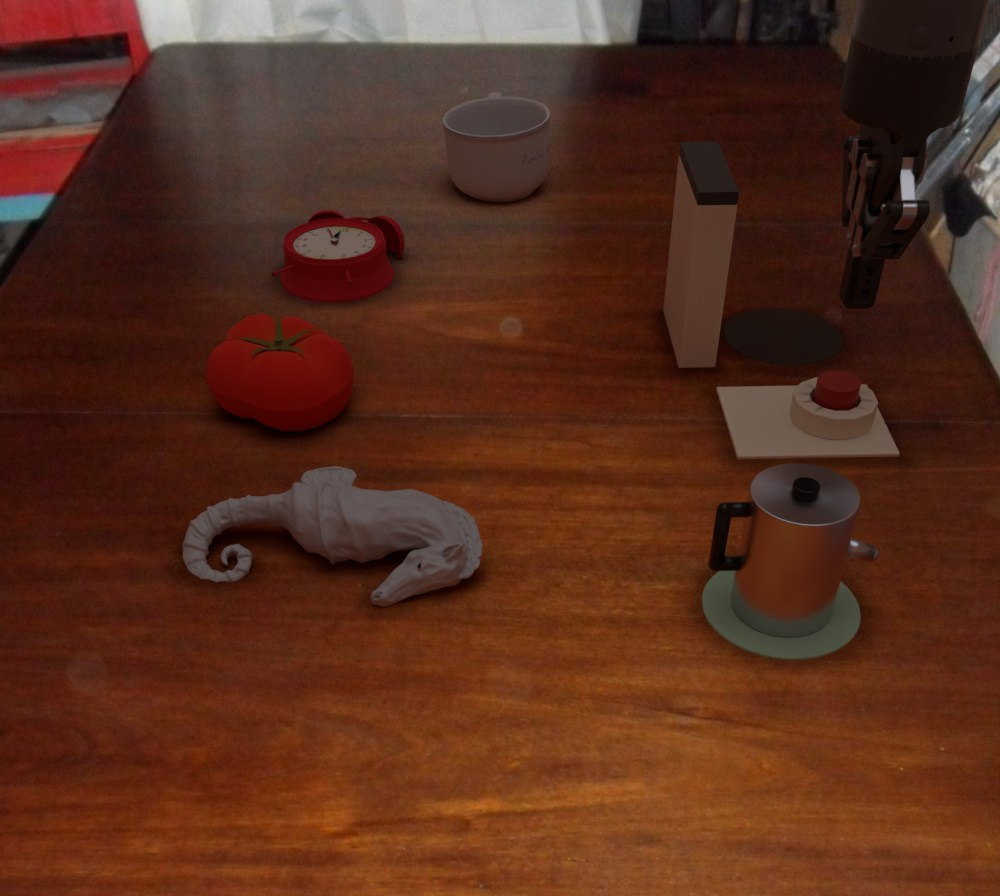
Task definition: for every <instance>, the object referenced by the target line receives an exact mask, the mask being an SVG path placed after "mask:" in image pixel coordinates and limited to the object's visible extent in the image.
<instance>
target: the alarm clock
mask: <svg viewBox="0 0 1000 896" xmlns="http://www.w3.org/2000/svg"><path fill="white" fill-rule="evenodd" d="M405 243H406V242H405V235H404V232H403V230H402V228H401V226H400V224H399V223H398V222H397V221H396V220H395V219H393V218H391V217H389V216H387V215H376V216H372V217H364V216H353V217H352V216H351V217H347V218H346V217H345V216H344V215H343V214H341V213H340V212H338V211H335V210H332V209H323V210H319V211H316V212H315V213H313V214H312V215H311V216H310V217H309V219H308V221H307V222H305V223H302V224H299V225H297V226H296V227H293V228H292V229H290V230H289V231H288V232H287V233H286V234H285V236H284V238H283V243H282V250H283V256H284V265H283V268H281V269H278V270H277V271H276V270H274V271H272V272H271V276H272V277H274V278H275V277H277V276H278V275H279V274H280V283H281V286H282V287H283V289H284V290H285V291H286V292H288V293H289V294H290V295H292V296H294V297H297V298H299V299H303V300H306V301H311V302H318V303H328V304H329V303H332V304H333V303H347V302H355V301H359V300H363V299H366V298H370V297H372V296H375V295H377V294H379V293H381V292H383V291H384V290H386V289H387V288H388V287H390V285H391V284H393V281H394V279H395V268H394V267H393V265H392V263H391V262H390V259H389V258H388V255H387V251H389V252H392V253H395V254H397V255H398V257H397V260H399V259H400V258H401V257H402V256H403V253H404V252H405V251H404V250H405V245H406V244H405Z"/></svg>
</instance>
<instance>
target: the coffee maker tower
mask: <svg viewBox="0 0 1000 896" xmlns="http://www.w3.org/2000/svg"><path fill="white" fill-rule="evenodd" d="M739 196H740V190H739V188H738V186H737V184H736V181H735V179H734V176H733V174H732V172H731V169H730V167H729V165H728V162H727V161H726V158H725V155H724V153H723V151H722V148H721V146H720V144H719V141H680V143H679V151H678V161H677V170H676V181H675V189H674V200H673V209H672V218H671V219H672V221H671V230H670V238H669V249H668V260H667V270H666V280H665V288H664V289H665V290H664V298H663V299H664V301H663V309H662V310H663V311H662V312H663V315H664V318H665V323H666V326H667V329H668V333H669V337H670V341H671V344H672V348H673V352H674V356H675V360H676V364H677V367H678V368H680V369H683V368H685V369H686V368H691V369H692V368H716V364H717V357H718V349H719V342H720V334H721V327H722V322H723V321H722V320H723V313H724V306H725V299H726V291H727V284H728V279H729V271H730V270H729V269H730V261H731V255H732V249H733V240H734V232H735V227H736V226H735V225H736V220H737V219H736V218H737V212H738V203H739V198H740V197H739Z"/></svg>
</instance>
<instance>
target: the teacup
mask: <svg viewBox="0 0 1000 896" xmlns="http://www.w3.org/2000/svg"><path fill="white" fill-rule="evenodd" d="M551 114H552V113H551V110H550V109H549V108H548V106H547V105H545V104H544V103H542V102H541V101H537V100H534V99H532V98H527V97H520V96H519V97H518V96H503V95H502V92H499V91H492V92H489V93H488V94H487V97H482V98H475V99H473V100H469V101H464V102H462V103H459V104H457V105H455V106H453V107H451V108H450V109H448V110H447V111H446V112H445V114H443V116H442V119H441V123H442V126H443V130H444V141H445V142H444V143H445V152H446V159H447V166H448V171H449V175H450V177H451V181H452V182H453V184H454V185H455V187H456V188H457V189H459V191H461V192H462V193H464V194H465V195H467V196H469V197H471V198H473V199H476V200H479V201H485V202H493V203H505V202H513V201H514V202H515V201H518V200H521V199H522V200H523V199H525V198H527V197H528V196H530V195H532V193H533V192H534V191H535V190H536V189H537V188H538V187H539V186H540V185H541V184H542V183H544V181H545V180H546V177H547V174H548V172H549V166H550V153H551V151H550V150H551V139H550V138H551V134H550V132H551V131H550V120H551Z"/></svg>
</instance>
